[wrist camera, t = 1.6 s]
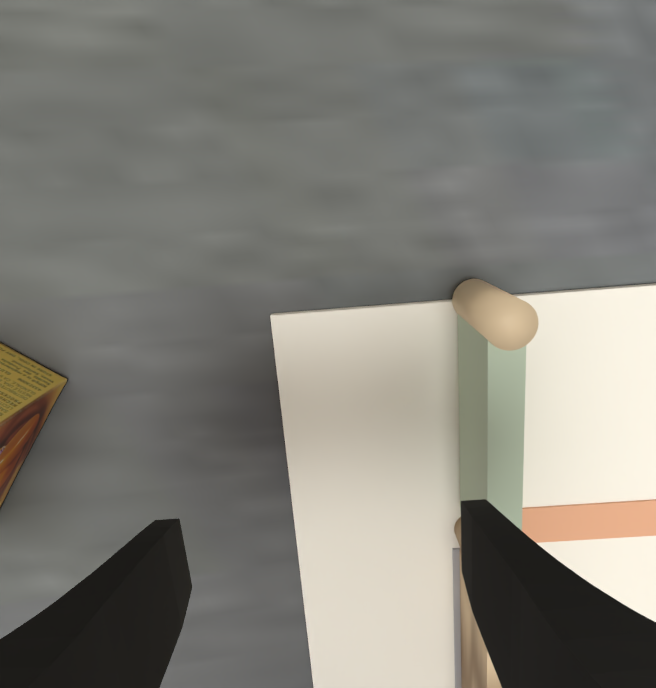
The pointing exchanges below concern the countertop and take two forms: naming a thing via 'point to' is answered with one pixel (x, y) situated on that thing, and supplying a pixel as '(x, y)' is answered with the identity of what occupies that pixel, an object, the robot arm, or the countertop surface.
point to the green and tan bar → (492, 393)
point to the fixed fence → (472, 641)
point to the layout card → (457, 470)
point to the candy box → (22, 409)
